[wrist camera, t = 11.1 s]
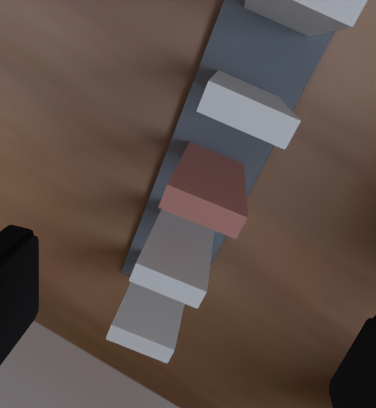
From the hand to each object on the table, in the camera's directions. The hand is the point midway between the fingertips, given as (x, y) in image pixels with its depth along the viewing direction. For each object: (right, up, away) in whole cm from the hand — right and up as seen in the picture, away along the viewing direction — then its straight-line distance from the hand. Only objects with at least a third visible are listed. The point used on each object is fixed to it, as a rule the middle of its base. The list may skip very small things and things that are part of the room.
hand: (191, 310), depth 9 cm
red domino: (+2, +7, +19) cm, 20 cm away
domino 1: (0, +2, +22) cm, 22 cm away
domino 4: (+6, +17, +14) cm, 22 cm away
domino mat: (+2, +7, +19) cm, 21 cm away
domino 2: (-2, -3, +24) cm, 24 cm away
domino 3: (+4, +12, +16) cm, 20 cm away
